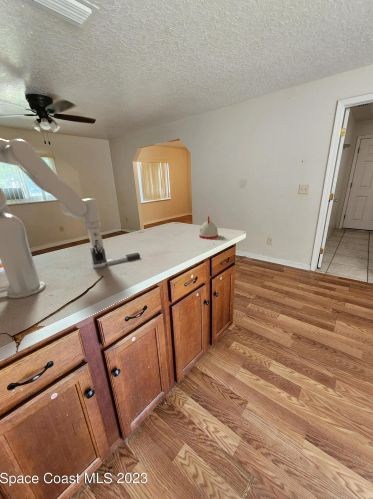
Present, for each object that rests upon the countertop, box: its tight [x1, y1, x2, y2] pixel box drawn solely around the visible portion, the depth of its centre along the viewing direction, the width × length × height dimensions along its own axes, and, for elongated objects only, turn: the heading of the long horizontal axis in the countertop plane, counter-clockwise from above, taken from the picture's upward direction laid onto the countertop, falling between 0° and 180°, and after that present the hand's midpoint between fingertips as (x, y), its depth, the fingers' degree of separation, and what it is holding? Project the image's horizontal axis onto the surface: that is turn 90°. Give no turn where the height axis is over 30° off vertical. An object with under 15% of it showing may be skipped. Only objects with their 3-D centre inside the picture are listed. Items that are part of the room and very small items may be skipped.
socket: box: [89, 246, 107, 265], centre depth 105 cm, size 6×6×7 cm
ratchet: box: [91, 252, 141, 270], centre depth 110 cm, size 24×7×6 cm, turn 121°
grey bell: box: [199, 215, 219, 240], centre depth 152 cm, size 14×14×15 cm
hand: (98, 257), depth 105 cm, fingers open, 9 cm apart
